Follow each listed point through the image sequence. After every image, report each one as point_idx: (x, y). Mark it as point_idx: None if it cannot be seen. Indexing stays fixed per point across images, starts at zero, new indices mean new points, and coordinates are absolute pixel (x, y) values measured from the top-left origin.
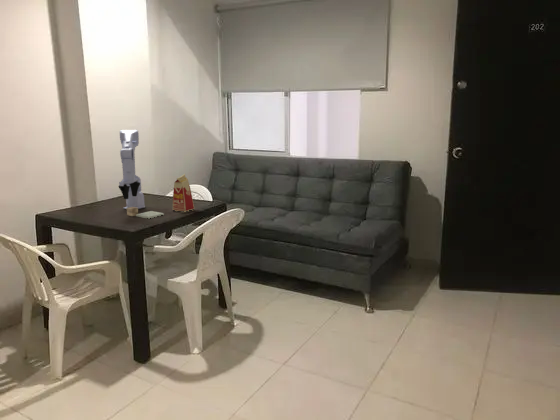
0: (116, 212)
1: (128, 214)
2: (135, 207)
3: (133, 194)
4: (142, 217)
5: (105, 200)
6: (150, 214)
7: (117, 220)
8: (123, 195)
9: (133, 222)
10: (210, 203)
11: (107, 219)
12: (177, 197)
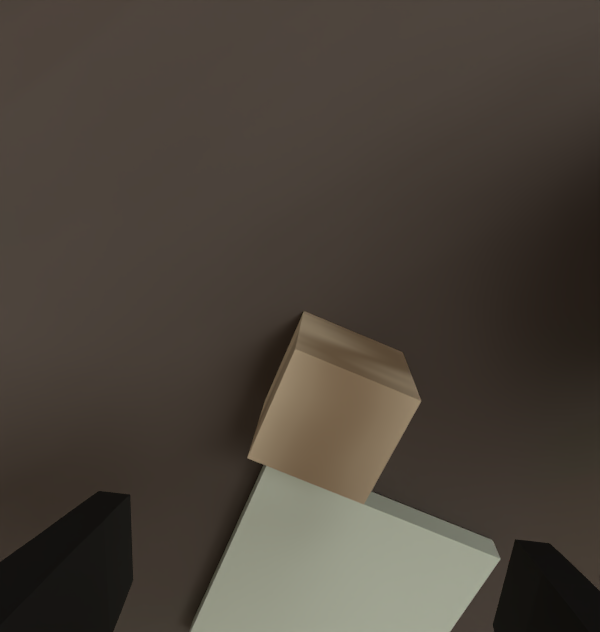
0: (461, 31)
1: (291, 342)
2: (365, 467)
3: (528, 615)
4: (230, 540)
5: None
6: (302, 616)
7: (11, 333)
8: (20, 566)
9: (5, 538)
10: None
11: (4, 170)
12: None
